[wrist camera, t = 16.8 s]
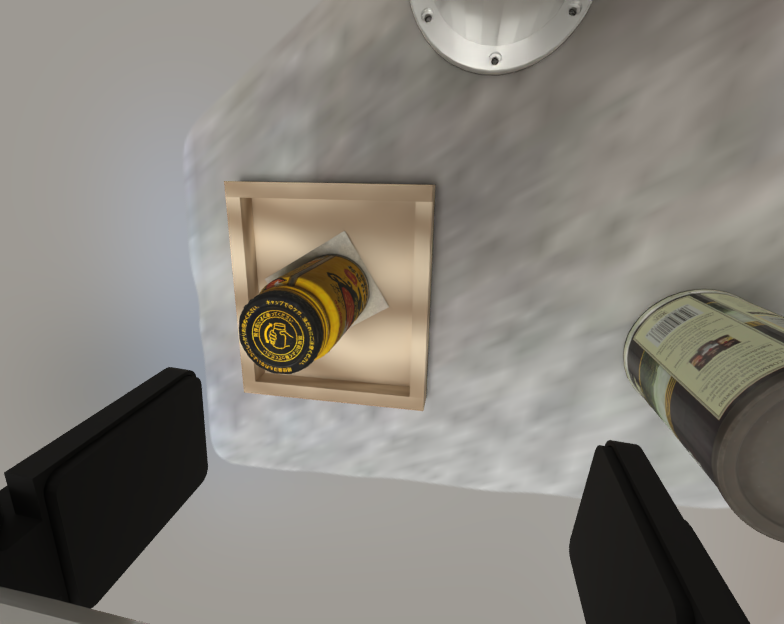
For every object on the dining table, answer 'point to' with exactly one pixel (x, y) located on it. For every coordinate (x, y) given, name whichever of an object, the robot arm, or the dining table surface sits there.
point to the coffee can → (719, 393)
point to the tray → (382, 259)
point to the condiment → (308, 307)
